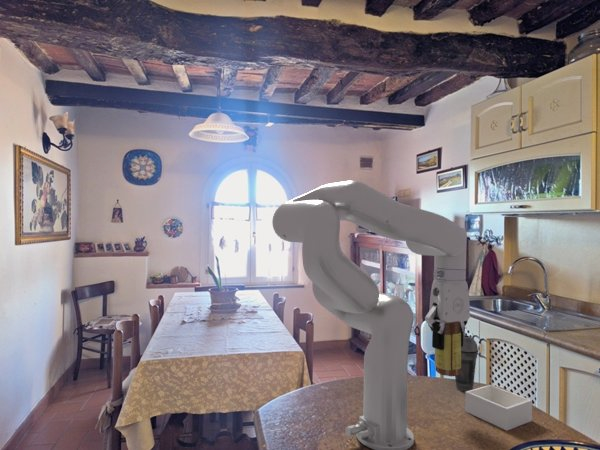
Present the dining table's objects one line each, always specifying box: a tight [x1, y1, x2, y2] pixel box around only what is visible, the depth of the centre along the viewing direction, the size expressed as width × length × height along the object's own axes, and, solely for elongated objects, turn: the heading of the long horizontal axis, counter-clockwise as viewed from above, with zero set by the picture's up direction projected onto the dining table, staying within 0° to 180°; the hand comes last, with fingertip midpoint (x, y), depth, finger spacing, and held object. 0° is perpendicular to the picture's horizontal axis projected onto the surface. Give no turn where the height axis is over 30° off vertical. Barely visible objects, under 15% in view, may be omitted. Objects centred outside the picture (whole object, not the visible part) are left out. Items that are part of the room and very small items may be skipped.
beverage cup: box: [454, 329, 479, 392], centre depth 117 cm, size 7×7×20 cm
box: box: [464, 384, 533, 431], centre depth 100 cm, size 10×11×5 cm
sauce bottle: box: [434, 318, 461, 377], centre depth 100 cm, size 6×6×20 cm
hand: (447, 346), depth 100 cm, fingers closed on sauce bottle, 6 cm apart
